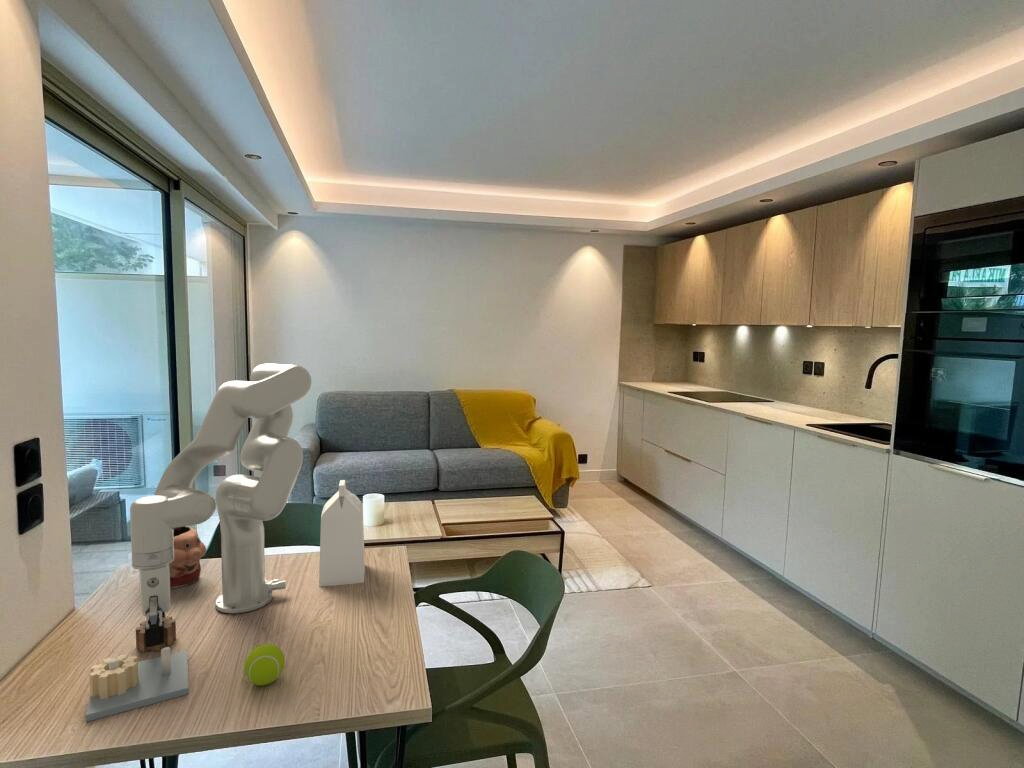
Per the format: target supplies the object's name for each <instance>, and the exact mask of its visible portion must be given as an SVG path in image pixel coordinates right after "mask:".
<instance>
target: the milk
mask: <svg viewBox="0 0 1024 768" xmlns="http://www.w3.org/2000/svg"><path fill="white" fill-rule="evenodd" d="M320 515H321V516H320V517H321V518H320V532H319V533H320V539H319V540H320V541H319V542H320V543H319V566H318V567H319V571H318V572H319V574H318V587H328V586H341V585H351V584H352V585H355V584H364V583H365V571H366V569H365V567H366V561H365V559H366V558H365V556H366V555H365V536H364V535H365V534H364V533H365V532H364V529H365V528H364V508H363V503H362V501H361V500H360V498H359V497H358V496H357V494H355V493H353V492H351V491H350V490H348V488H347V486H346V479H340V480H339V484H338V491H337V492H335V494H334V495H332V497H330V498H329V499H328V500H327V502H326V503H325V504H324V505H323V507H322V511H321V514H320Z"/></svg>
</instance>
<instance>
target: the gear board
mask: <svg viewBox="0 0 1024 768" xmlns="http://www.w3.org/2000/svg"><path fill="white" fill-rule="evenodd" d="M138 660H139V659H138V657H137V656H136V655H133V656H129V654H126V653H125V654H120V655H119V656H115V657H111V656H110V657H107V658H104V659H102V662H100V663H99V664H94V665H93V666H92V667H90V673H89V691H90V692H89V699H88V704H87V709H86V713H85V722H87V723H88V722H90V721H91V722H92V721H94V720H98V719H102V718H106V717H108V716H113V715H116V714H117V715H118V714H120V713H124V712H126V711H131V710H133V709H139V708H141V707H142V708H143V707H146V706H149V705H152V704H156V703H160V702H163V701H168V700H170V699H171V700H172V699H175V698H178V697H182V696H186V695H189V694H190V693H189V689H190V688H189V671H188V670H189V665H188V662H189V661H188V650H183V651H177V652H174V653H171V647H169V646H164V647H162V648H160V656H158V657H154V658H150V659H146V660H141V661H138Z"/></svg>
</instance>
